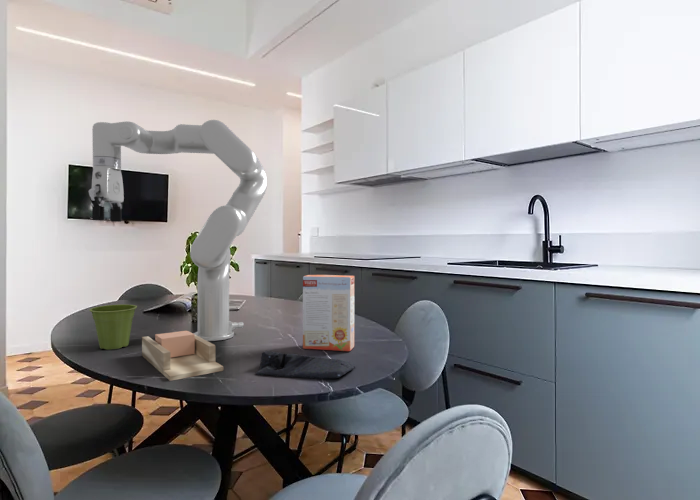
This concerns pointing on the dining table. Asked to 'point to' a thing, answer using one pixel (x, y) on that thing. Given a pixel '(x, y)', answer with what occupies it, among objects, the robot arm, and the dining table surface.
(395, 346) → the dining table surface
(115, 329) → the plant pot
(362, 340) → the dining table surface
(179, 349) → the block
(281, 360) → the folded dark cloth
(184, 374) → the chute
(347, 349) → the cracker box
